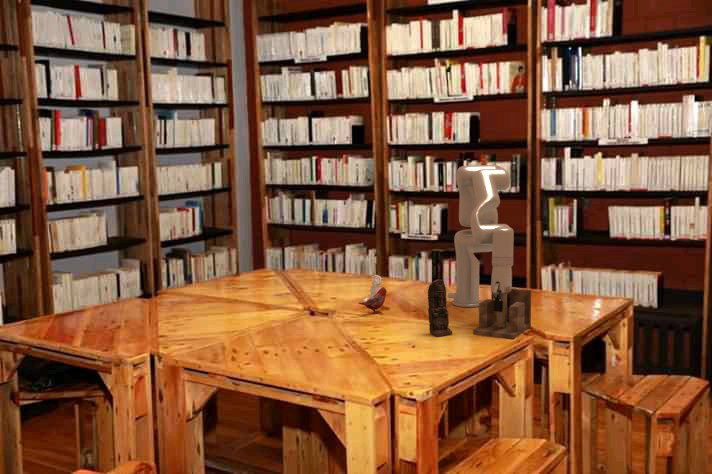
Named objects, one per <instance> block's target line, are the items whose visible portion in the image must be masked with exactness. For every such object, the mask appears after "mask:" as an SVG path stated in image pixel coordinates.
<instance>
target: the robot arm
mask: <svg viewBox="0 0 712 474" xmlns="http://www.w3.org/2000/svg"><path fill="white" fill-rule="evenodd" d="M456 170H457V171H456V174H455V179H456V185H457V188H458V192H459V205H458V220H459V224H460V226H462V227H466V228H470V229H461V230H459V231H457V232H456V233H455V235H454V237H453V240H454V247H455V248H454V249H455V256H456V257H455V258H456V259H455V261H456V263H455V264H456V271H455V272H456V274H455V275H456V280H455V281H456V284H455V293H453V292H448V293H447V298H448V299H453V300H452V305H453V306H456V307H460V308H476V307H477V308H478V307H479V303H480V302H482V301H483V300H480V261H479V259H478V258H477V257H476V255H475V254H474V253H489V252H491V253H492V254H491V266H492V271H491V278H490V279H491V281H490V293H491V292H492V293H493V294H494V296H493V297H494V311H497V312H502V311H503V301H502V297H503V294H504V293H505V292H506V288H508V287H509V286H510V287H512V285H513V284H512V283H513V281H512V280H513V271H512V266H514V240H515V239H514V238H515V237H514V229H513V228H512V227H510V226H509V225H508V224H506V223H498V222H499V215H498V209H497V208H498V207H499V206H500V203H501V199H500V195H499V193H498V191H506V190H507V189H508V188H509V187H510V185H511V179H510V174H509V173H508V171H507V169H505V168H504V167H502V166H499V165H497V164H496V165H493V164H477V165H476V164H473V165H472V164H470V165H462V166H459V168H458V169H456ZM512 288H513V287H512ZM498 291H501V292H498ZM498 294H499V295H500V296H499V295H498ZM507 307H508V308H509V307H510V292H509V293H507Z"/></svg>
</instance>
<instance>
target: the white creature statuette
mask: <svg viewBox="0 0 712 474" xmlns="http://www.w3.org/2000/svg"><path fill="white" fill-rule="evenodd" d="M384 280H385V278H384V277H383V278H382V277H381V276H380V275H379V274H375V275H372V276H371V280H370V281H371V286H370V290H369V292H370V295H369V296H367V297H365V298H363V299H362V300H361V302H366V301H367V300H368V299H370V298H371V297H373V296H374V295H375V294H377V292H378V291H379V290H380V289H381V288H382V287H381V286H380V285H382V283H383V282H384Z"/></svg>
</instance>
